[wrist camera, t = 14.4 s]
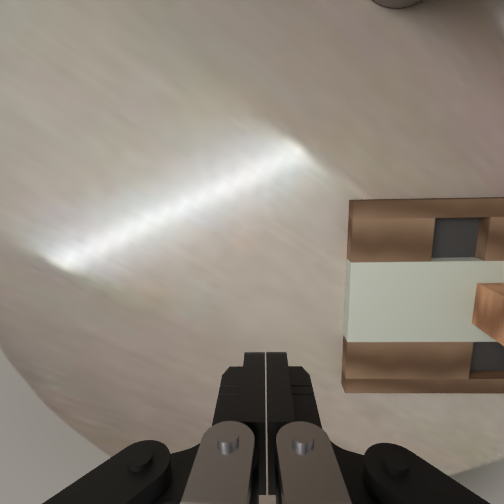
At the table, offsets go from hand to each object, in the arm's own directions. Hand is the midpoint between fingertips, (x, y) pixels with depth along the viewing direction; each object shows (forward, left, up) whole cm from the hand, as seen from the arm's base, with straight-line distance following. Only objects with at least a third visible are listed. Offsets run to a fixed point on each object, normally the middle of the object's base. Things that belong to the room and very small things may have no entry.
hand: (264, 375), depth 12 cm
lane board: (+8, +24, -29) cm, 38 cm away
